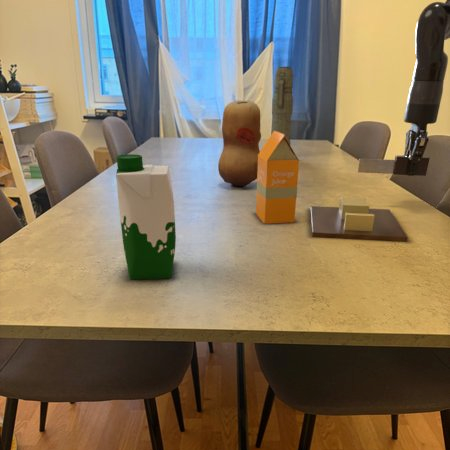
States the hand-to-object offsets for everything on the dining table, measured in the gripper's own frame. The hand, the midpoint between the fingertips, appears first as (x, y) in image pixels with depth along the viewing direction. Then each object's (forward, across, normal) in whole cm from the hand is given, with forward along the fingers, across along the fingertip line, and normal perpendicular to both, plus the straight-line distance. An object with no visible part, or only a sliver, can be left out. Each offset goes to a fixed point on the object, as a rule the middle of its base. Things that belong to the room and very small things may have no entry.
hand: (409, 174), depth 113 cm
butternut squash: (+9, +18, +47) cm, 51 cm away
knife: (0, 0, +5) cm, 5 cm away
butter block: (+8, -14, +15) cm, 22 cm away
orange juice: (+9, -16, +34) cm, 39 cm away
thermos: (+9, +80, +37) cm, 89 cm away
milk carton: (+9, -53, +54) cm, 76 cm away
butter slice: (+8, -26, +15) cm, 31 cm away
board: (+9, -18, +15) cm, 25 cm away
